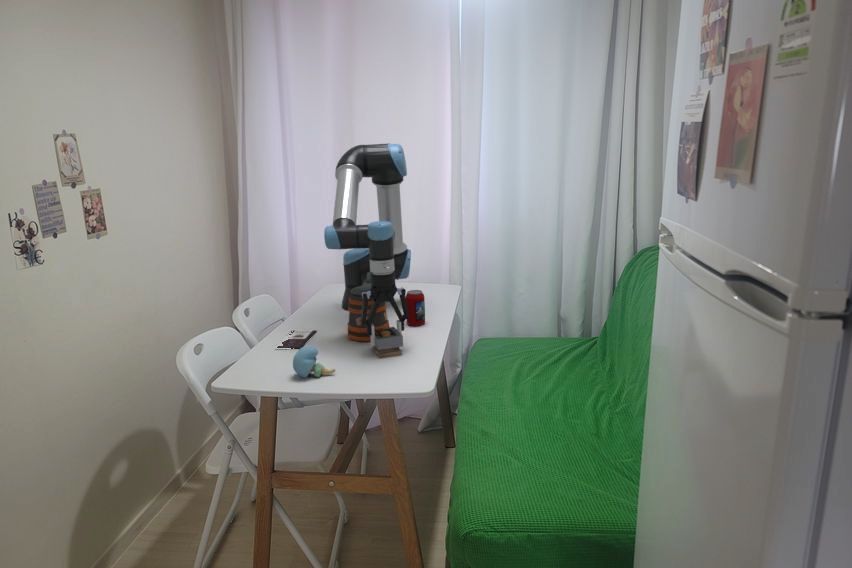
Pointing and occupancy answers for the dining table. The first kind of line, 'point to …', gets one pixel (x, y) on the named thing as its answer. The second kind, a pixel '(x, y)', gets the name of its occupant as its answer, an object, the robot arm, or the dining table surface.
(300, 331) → the chocolate bar
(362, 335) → the beer stein
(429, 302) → the dining table surface
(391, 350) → the keeper
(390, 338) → the grey rectangular frame
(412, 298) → the beverage can
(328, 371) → the blue haired figurine
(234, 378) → the dining table surface
